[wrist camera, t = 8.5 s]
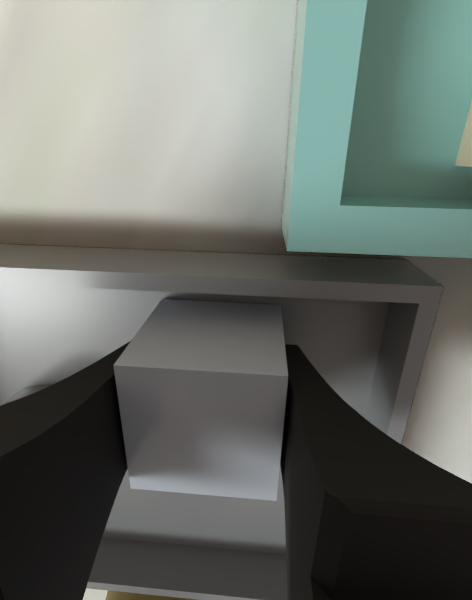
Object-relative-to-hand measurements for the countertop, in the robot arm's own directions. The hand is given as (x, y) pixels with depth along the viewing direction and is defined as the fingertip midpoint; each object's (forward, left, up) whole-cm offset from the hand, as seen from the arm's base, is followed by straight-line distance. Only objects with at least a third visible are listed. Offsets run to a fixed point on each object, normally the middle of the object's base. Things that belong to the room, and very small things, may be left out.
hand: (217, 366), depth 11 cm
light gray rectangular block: (0, 0, -1) cm, 1 cm away
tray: (+3, +4, -2) cm, 5 cm away
